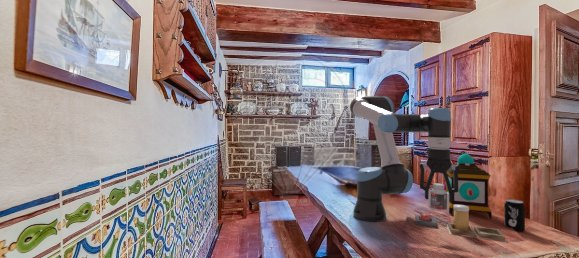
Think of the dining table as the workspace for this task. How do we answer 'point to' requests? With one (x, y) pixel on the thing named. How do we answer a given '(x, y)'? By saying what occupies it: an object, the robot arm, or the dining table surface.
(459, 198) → the decorative lantern
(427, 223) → the grey square frame
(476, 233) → the wooden divided tray
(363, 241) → the dining table surface
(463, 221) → the amber capped bottle
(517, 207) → the beverage can
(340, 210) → the dining table surface
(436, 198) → the pill bottle
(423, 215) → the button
